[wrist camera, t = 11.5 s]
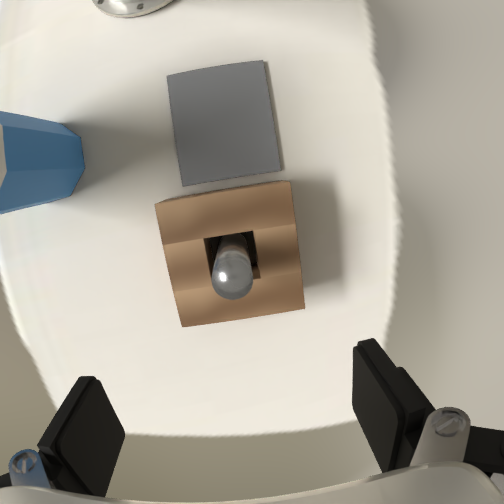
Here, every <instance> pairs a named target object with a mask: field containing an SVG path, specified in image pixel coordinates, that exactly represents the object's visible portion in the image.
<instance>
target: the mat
mask: <svg viewBox="0 0 504 504" xmlns="http://www.w3.org/2000/svg"><path fill="white" fill-rule="evenodd" d="M167 83H168V91H169V99H170V106H171V114H172V121H173V128H174V135H175V142H176V148H177V155H178V161H179V167H180V173H181V180H182V185H183V186H188V185H194V184H199V183H205V182H211V181H217V180H223V179H229V178H235V177H241V176H248V175H254V174H261V173H268V172H276V171H281V167H280V160H279V154H278V147H277V141H276V134H275V128H274V122H273V115H272V109H271V103H270V97H269V91H268V86H267V80H266V74H265V69H264V63H263V60H259V61H250V62H242V63H235V64H227V65H221V66H215V67H209V68H203V69H197V70H192V71H187V72H182V73H177V74H173V75H168V76H167Z"/></svg>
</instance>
